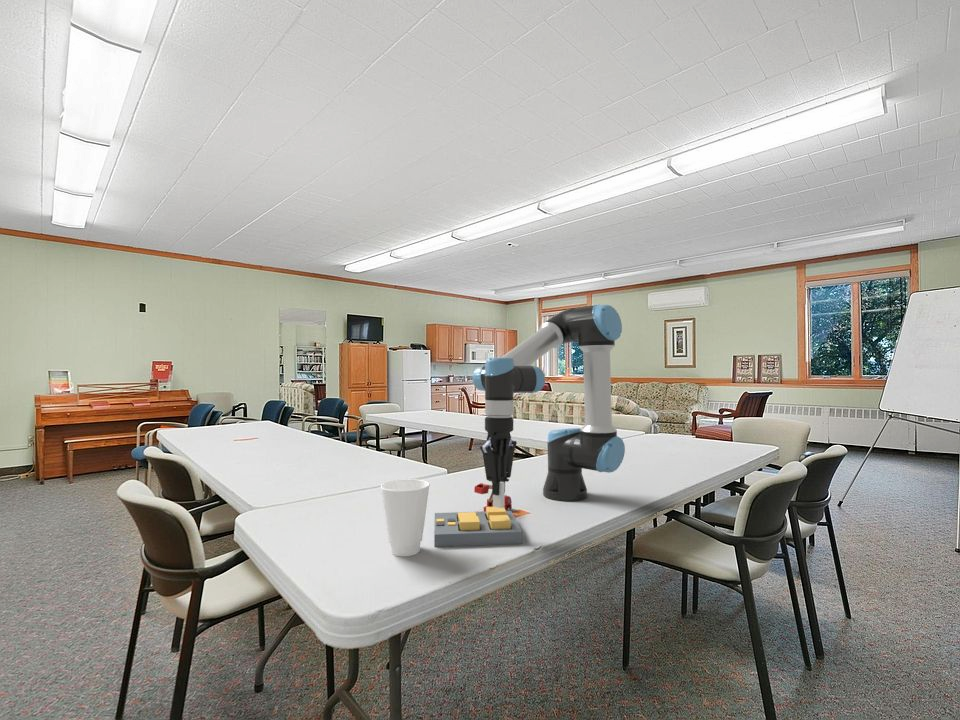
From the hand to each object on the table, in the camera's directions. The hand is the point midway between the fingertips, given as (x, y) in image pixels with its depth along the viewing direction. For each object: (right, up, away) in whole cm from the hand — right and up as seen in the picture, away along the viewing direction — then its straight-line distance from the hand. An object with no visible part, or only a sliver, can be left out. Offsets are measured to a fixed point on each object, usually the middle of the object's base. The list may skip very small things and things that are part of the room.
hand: (498, 506), depth 125 cm
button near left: (0, -6, 0) cm, 6 cm away
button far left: (0, -6, +8) cm, 10 cm away
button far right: (-8, -8, +7) cm, 14 cm away
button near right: (-8, -6, -1) cm, 10 cm away
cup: (-23, -8, -9) cm, 26 cm away
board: (-6, -8, +4) cm, 11 cm away
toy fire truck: (-1, -9, +21) cm, 23 cm away
